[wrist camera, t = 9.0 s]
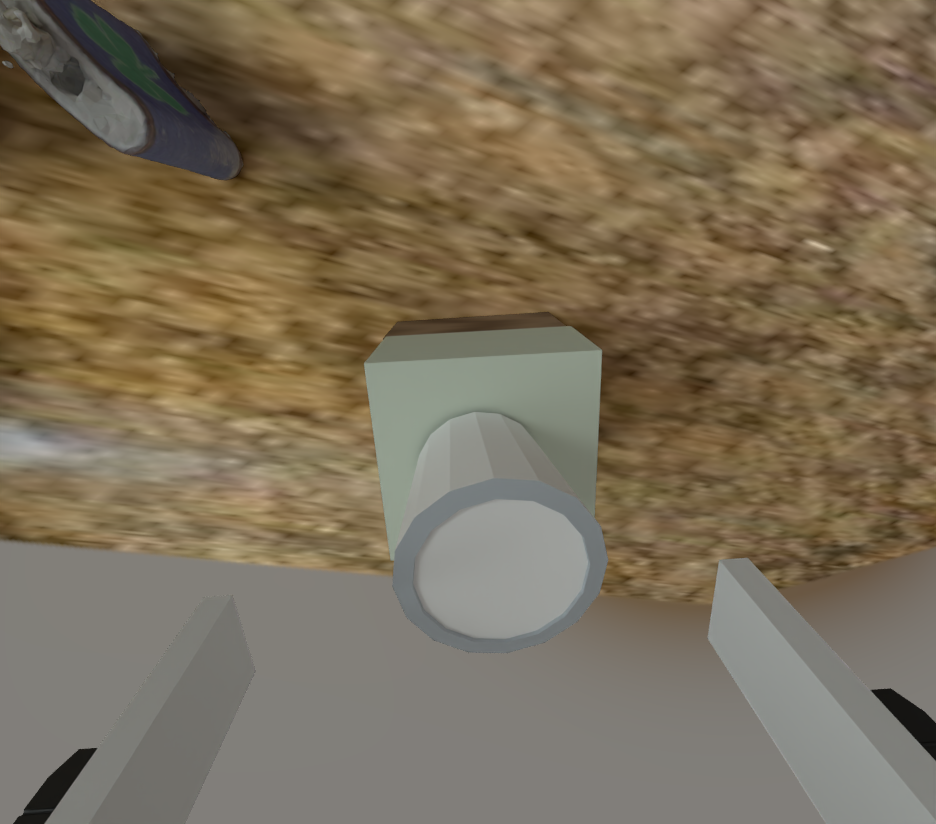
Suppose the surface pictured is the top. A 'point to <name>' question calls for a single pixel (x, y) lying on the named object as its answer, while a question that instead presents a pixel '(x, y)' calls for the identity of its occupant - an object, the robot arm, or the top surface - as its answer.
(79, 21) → the flask
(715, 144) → the top surface
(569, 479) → the sage block
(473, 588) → the white cup
